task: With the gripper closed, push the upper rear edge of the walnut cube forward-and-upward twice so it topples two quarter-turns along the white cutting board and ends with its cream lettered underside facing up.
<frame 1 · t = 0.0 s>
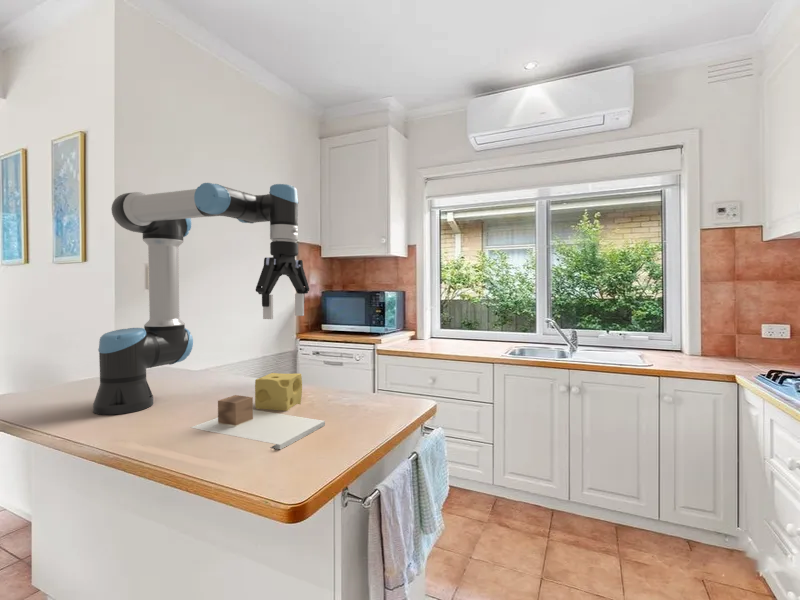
hand: (284, 317, 117), 28 cm above the table, fingers open, 13 cm apart
walnut block: (235, 421, 109), point 1 cm above the table, touching cutting board
cheese: (278, 409, 125), on the table
cutting board: (259, 428, 107), on the table
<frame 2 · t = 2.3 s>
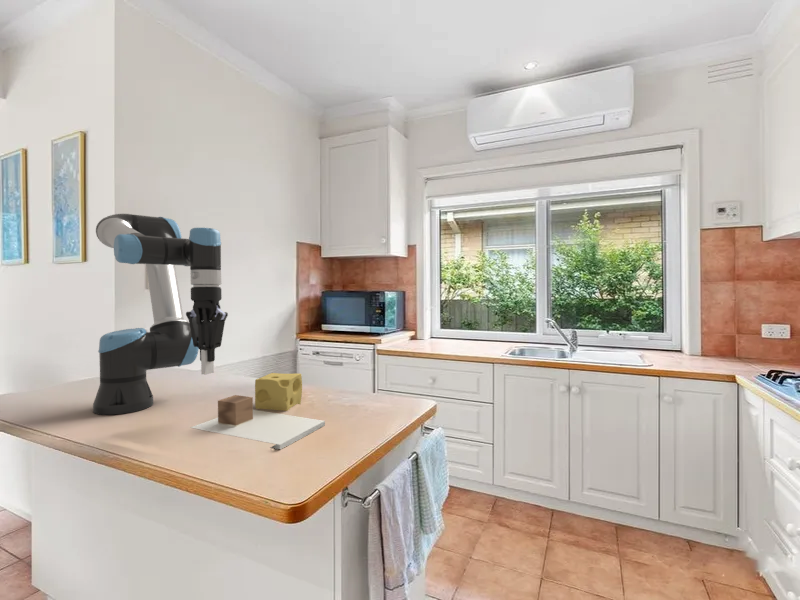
hand: (207, 373, 112), 13 cm above the table, fingers closed
nothing on the table moved.
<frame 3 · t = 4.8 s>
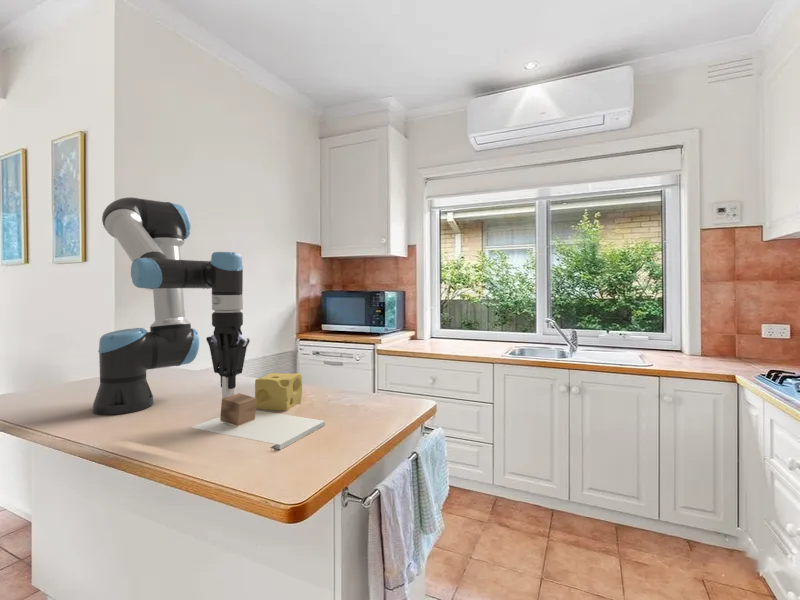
hand: (228, 400, 110), 7 cm above the table, fingers closed
walnut block: (237, 420, 109), point 2 cm above the table, tilted 7°, touching gripper
everything else where it was.
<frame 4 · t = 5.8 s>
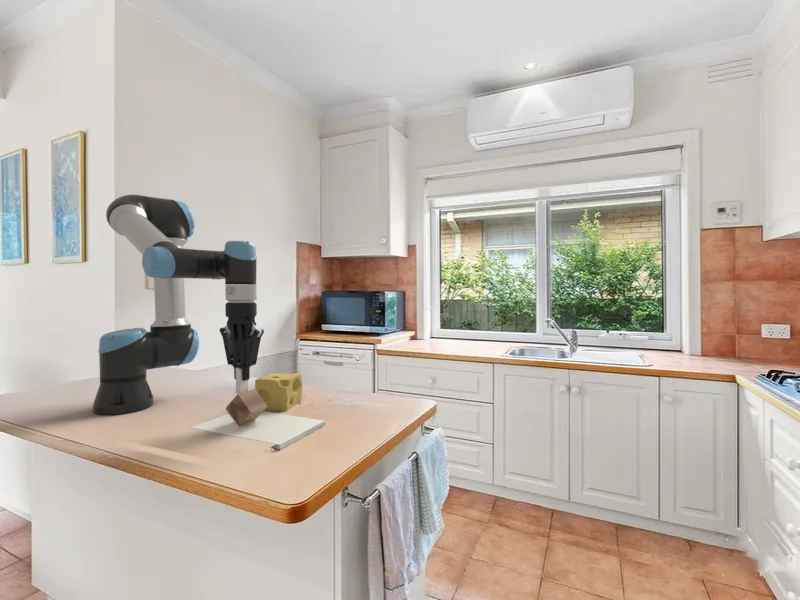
hand: (242, 392, 108), 9 cm above the table, fingers closed
walnut block: (240, 414, 108), point 3 cm above the table, tilted 45°, touching cutting board
everything else where it was.
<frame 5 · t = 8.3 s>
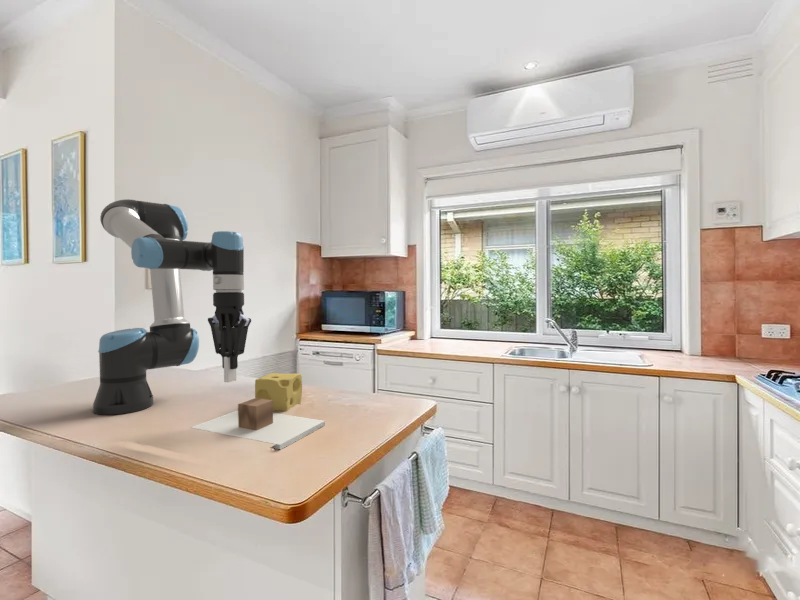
hand: (230, 381, 109), 12 cm above the table, fingers closed
walnut block: (246, 412, 108), point 4 cm above the table, tilted 90°, touching cutting board
everything else where it was.
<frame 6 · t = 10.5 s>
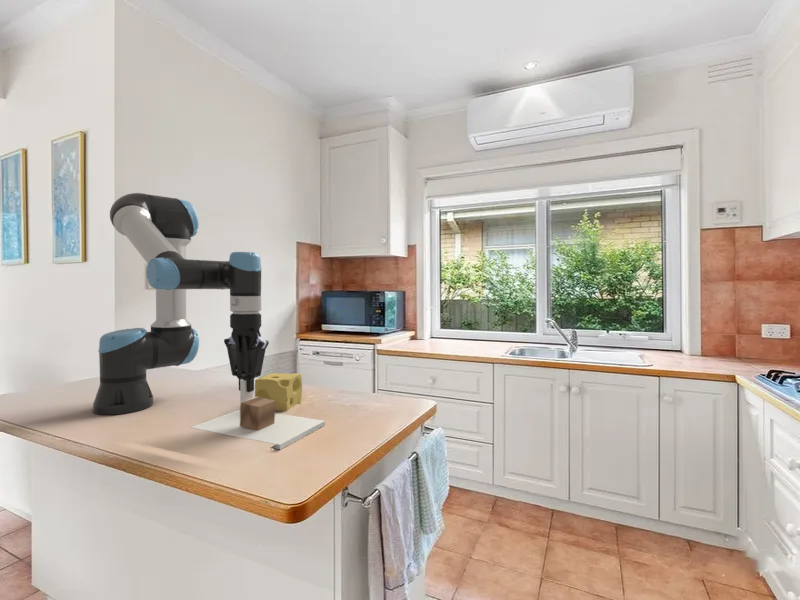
hand: (246, 403, 107), 6 cm above the table, fingers closed
walnut block: (248, 411, 107), point 5 cm above the table, tilted 93°, touching gripper
everything else where it was.
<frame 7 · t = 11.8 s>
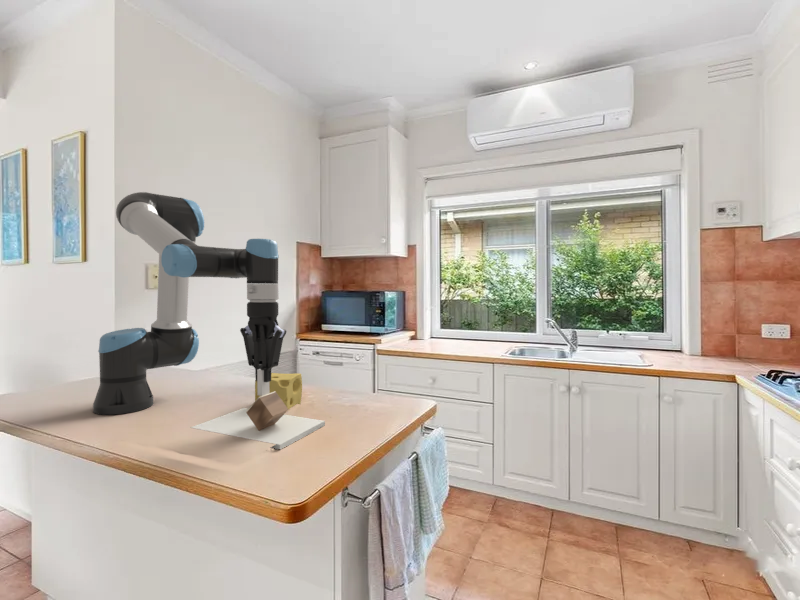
hand: (263, 394, 105), 9 cm above the table, fingers closed
walnut block: (260, 401, 106), point 8 cm above the table, tilted 135°, touching cutting board
everything else where it was.
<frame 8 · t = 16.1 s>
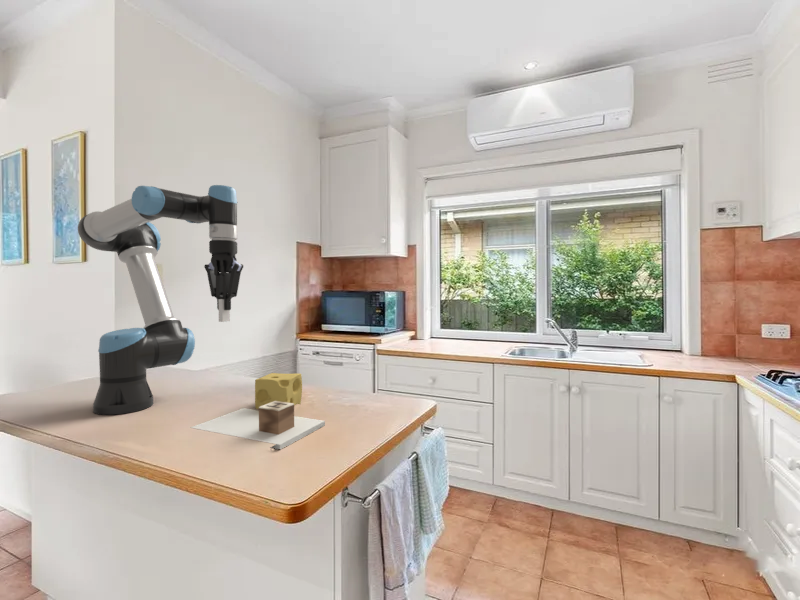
hand: (224, 321, 122), 26 cm above the table, fingers closed
walnut block: (276, 405, 104), point 7 cm above the table, tilted 180°, touching cutting board
everything else where it was.
at the end: walnut block tilted 180°; walnut block inside the target area (1.1 cm from its centre), point 7.2 cm above the table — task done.
